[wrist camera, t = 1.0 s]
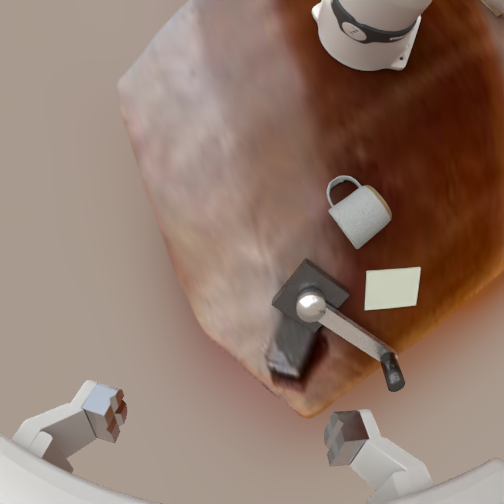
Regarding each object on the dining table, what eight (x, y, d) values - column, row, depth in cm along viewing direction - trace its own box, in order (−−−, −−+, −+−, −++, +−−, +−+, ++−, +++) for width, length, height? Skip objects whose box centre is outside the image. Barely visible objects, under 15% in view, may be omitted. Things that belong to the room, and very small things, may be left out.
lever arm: (291, 303, 50) (288, 336, 40) (308, 283, 48) (309, 313, 38) (382, 363, 51) (392, 397, 41) (399, 347, 49) (413, 380, 40)
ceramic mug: (387, 213, 45) (401, 222, 37) (351, 242, 47) (359, 256, 40) (350, 164, 43) (359, 164, 36) (313, 194, 46) (315, 200, 39)
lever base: (273, 298, 53) (271, 304, 51) (305, 258, 49) (305, 263, 47) (314, 325, 54) (314, 332, 51) (347, 288, 50) (349, 295, 48)
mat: (364, 309, 51) (364, 310, 50) (366, 270, 48) (366, 271, 48) (415, 304, 49) (415, 305, 48) (419, 267, 46) (420, 267, 46)
